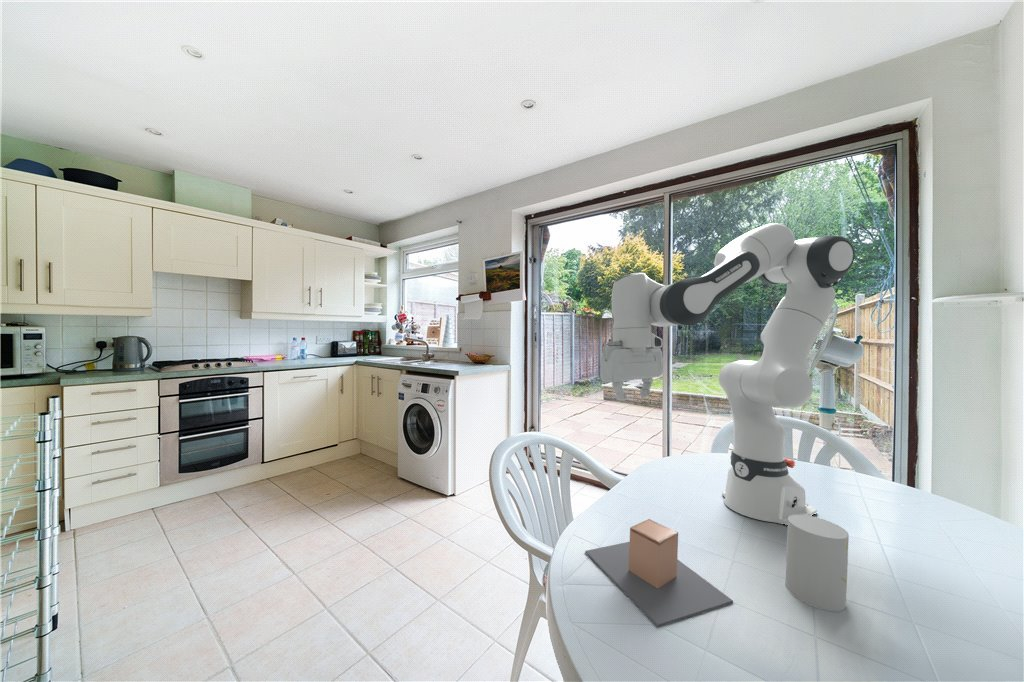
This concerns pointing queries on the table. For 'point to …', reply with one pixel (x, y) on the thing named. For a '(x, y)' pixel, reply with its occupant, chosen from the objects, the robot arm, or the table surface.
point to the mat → (663, 603)
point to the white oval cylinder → (817, 562)
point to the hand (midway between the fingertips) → (633, 398)
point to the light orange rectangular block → (653, 552)
